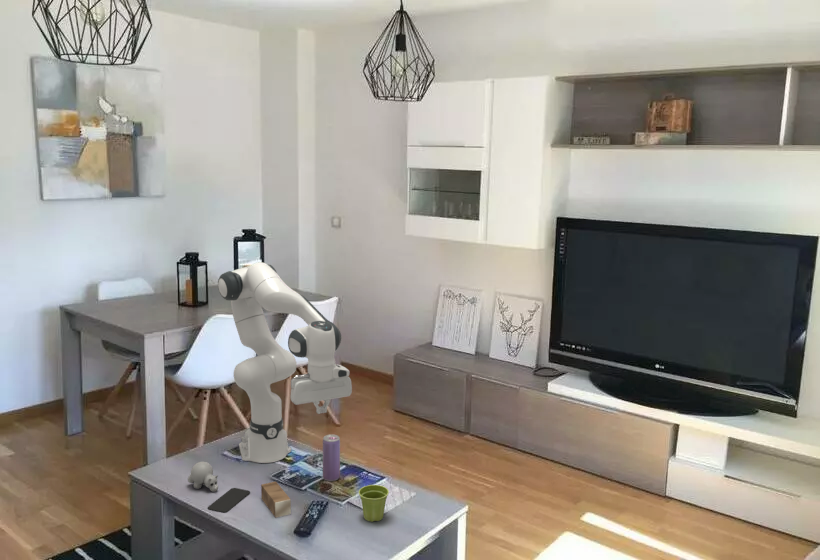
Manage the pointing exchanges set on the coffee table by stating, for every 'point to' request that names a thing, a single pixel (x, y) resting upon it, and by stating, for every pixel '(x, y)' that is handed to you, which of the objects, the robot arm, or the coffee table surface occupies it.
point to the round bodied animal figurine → (203, 476)
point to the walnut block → (276, 499)
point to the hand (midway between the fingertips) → (321, 412)
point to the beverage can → (331, 457)
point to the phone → (229, 500)
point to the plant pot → (373, 501)
